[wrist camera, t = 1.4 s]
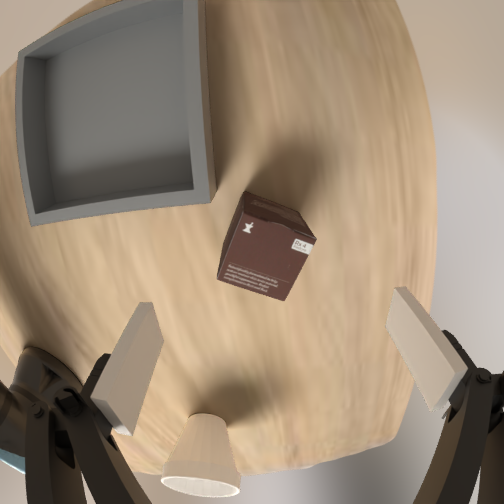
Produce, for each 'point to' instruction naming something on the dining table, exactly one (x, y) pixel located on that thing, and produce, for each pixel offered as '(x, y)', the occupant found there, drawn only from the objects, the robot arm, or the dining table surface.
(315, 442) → the dining table surface
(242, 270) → the box
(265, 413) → the dining table surface
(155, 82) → the bin
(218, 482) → the cup
